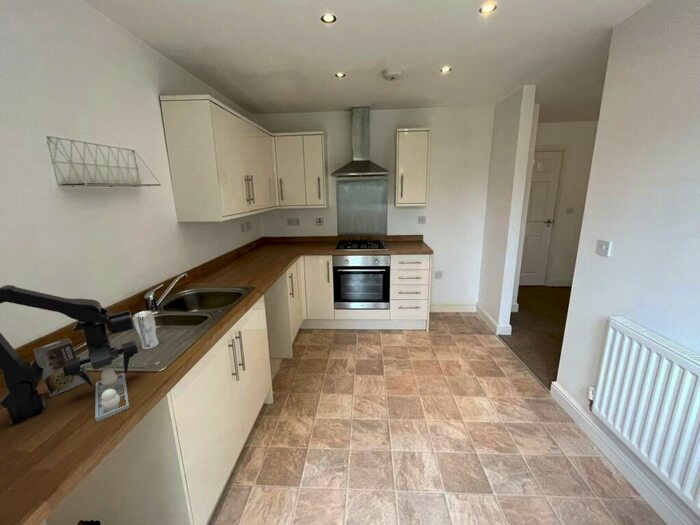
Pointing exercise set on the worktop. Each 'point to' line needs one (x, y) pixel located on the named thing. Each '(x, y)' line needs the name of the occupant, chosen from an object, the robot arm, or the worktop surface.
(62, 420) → the worktop surface
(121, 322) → the robot arm
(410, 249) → the worktop surface
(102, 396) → the white drawer knob
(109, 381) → the cream stacked ball figurine
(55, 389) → the coffee box
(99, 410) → the gray divided compartment tray
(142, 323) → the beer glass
